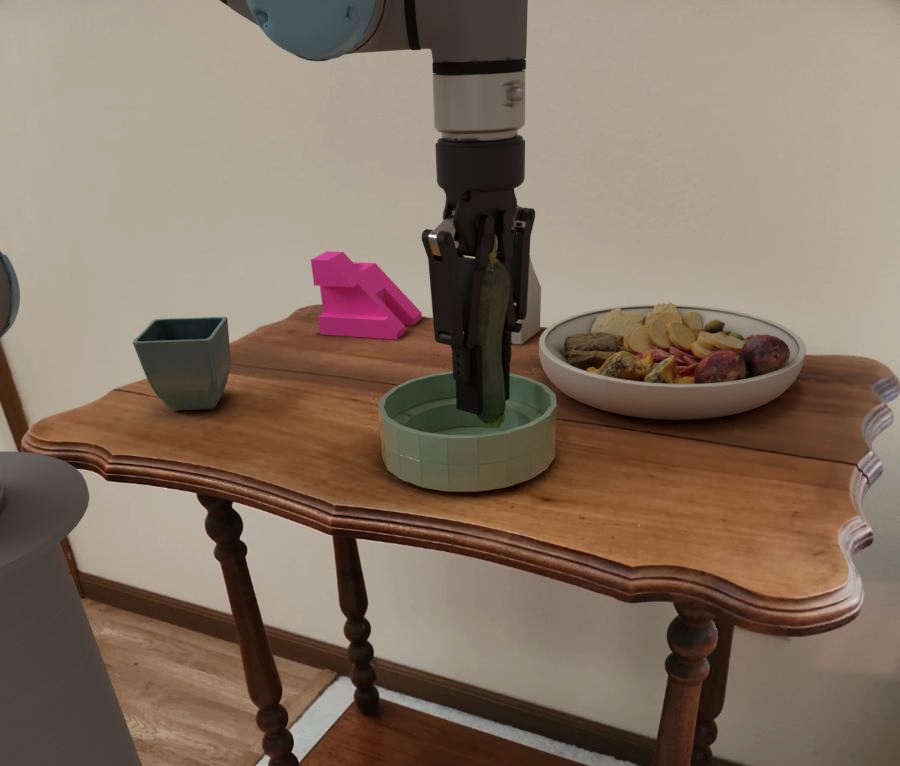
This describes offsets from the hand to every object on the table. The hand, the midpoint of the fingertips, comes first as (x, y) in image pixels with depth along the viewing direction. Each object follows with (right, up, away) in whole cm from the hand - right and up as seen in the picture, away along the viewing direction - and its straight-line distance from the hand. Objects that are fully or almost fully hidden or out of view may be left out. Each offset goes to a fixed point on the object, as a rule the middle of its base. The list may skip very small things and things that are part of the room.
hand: (483, 403), depth 81 cm
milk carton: (+6, +17, +33) cm, 38 cm away
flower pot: (-33, +4, +16) cm, 38 cm away
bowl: (+22, +7, +17) cm, 29 cm away
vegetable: (0, -2, +1) cm, 3 cm away
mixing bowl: (-1, -5, +1) cm, 6 cm away
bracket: (-15, +21, +40) cm, 47 cm away
